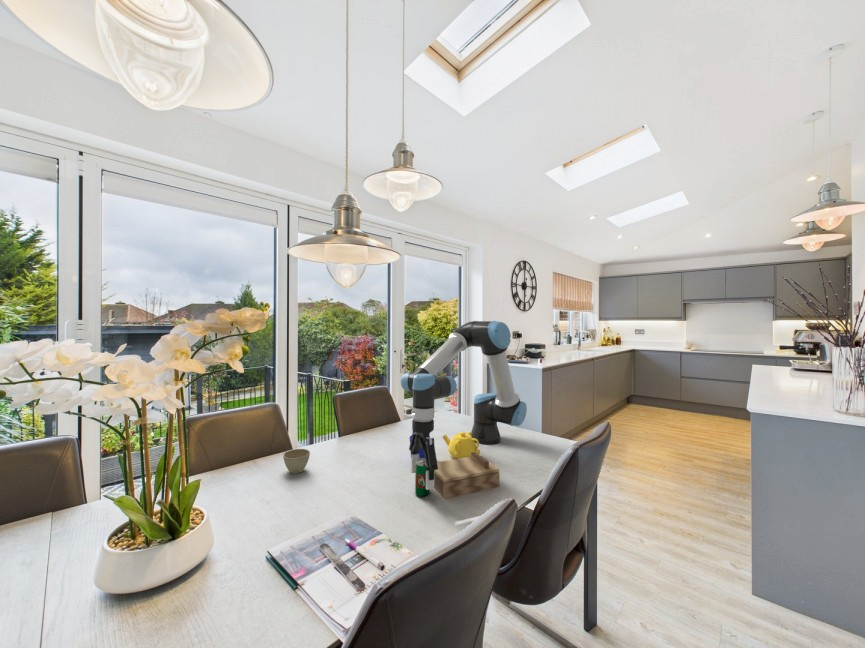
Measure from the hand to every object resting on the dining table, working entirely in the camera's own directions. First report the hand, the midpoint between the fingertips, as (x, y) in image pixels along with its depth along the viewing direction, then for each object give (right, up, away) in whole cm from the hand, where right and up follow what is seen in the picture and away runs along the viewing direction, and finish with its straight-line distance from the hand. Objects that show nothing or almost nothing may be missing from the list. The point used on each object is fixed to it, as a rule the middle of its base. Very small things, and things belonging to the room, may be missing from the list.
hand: (422, 480), depth 122 cm
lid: (+15, +1, +7) cm, 16 cm away
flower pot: (-51, -5, +18) cm, 54 cm away
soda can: (0, -5, 0) cm, 5 cm away
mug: (-1, -5, +29) cm, 30 cm away
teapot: (+16, -5, +35) cm, 39 cm away
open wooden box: (+15, -5, +7) cm, 17 cm away
